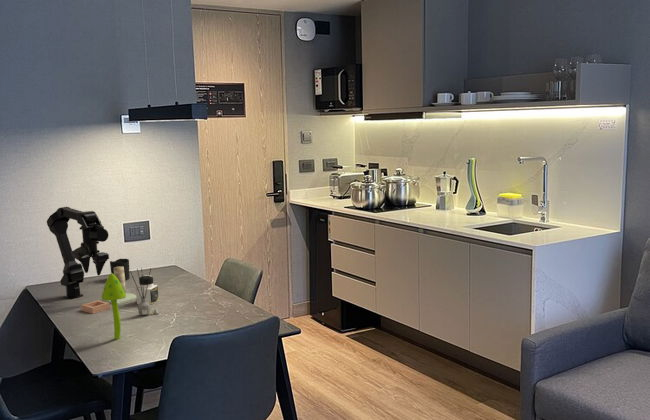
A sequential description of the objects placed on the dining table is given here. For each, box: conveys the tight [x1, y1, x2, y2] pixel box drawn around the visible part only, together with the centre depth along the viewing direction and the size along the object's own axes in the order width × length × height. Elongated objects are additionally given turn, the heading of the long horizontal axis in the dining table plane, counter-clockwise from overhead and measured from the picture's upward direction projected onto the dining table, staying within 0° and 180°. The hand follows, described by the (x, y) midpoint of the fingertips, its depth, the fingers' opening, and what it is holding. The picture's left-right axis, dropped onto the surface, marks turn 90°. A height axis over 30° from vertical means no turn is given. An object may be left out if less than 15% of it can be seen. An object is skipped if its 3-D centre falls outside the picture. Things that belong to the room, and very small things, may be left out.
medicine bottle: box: [135, 274, 160, 306], centre depth 278 cm, size 7×7×12 cm
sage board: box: [99, 292, 137, 306], centre depth 285 cm, size 13×13×1 cm
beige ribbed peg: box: [114, 266, 127, 299], centre depth 284 cm, size 4×4×14 cm
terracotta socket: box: [80, 299, 111, 314], centre depth 270 cm, size 8×8×2 cm
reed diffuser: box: [129, 267, 160, 316], centre depth 260 cm, size 10×7×20 cm
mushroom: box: [101, 272, 126, 340], centre depth 231 cm, size 8×8×25 cm
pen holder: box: [109, 258, 131, 282], centre depth 322 cm, size 9×9×10 cm
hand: (92, 273), depth 280 cm, fingers open, 9 cm apart
